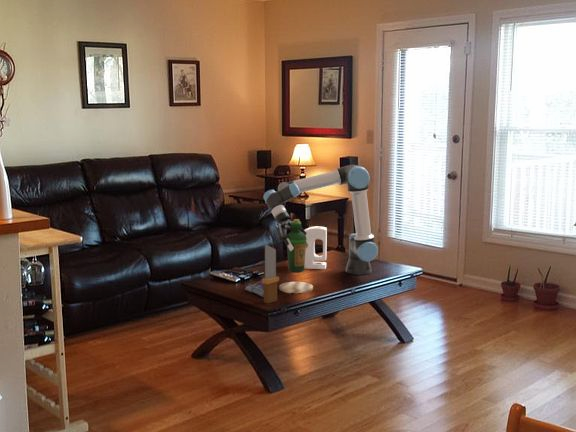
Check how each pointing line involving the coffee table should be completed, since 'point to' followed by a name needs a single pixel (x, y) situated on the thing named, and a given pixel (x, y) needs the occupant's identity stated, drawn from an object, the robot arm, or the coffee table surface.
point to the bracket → (310, 255)
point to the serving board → (296, 287)
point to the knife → (270, 275)
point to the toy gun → (256, 288)
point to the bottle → (296, 248)
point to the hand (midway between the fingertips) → (300, 248)
